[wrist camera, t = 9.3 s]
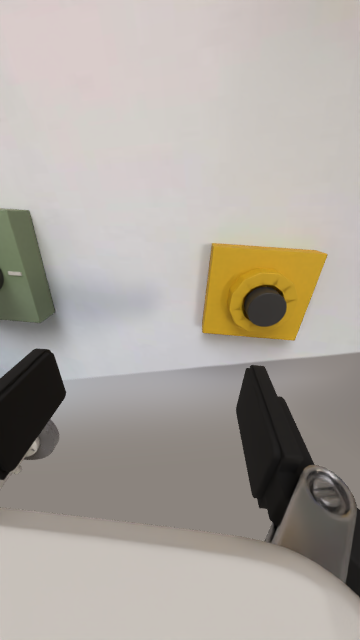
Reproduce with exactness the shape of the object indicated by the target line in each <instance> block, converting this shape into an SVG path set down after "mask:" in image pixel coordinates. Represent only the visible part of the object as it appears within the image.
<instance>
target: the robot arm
mask: <svg viewBox="0 0 360 640" xmlns="http://www.w3.org/2000/svg"><path fill="white" fill-rule="evenodd" d="M65 395H66V391H65V388H64V385H63V381H62V378H61V375H60V372H59V369H58V366H57V363H56V360H55V357H54V354H53V353H51V351H50V350H48V349H34V350H33V351H32V352H30V353H29V354H28V355H27V356H26V357H25V358H23V359H22V360H21V361H20V362H19V363H18V364H17V365H15V366H14V367H13V368H12V369H11V370H10V371H8V372H7V373H6V374H5V375H4V376H3V377H2V378H0V489H1V488H2V487H3V485H4V483H5V482H6V481H7V479H8V478H9V476H11V475H12V473H14V474H19V473H20V472H21V470H22V468H21V466H20V463H21V462H22V461H23V459H24V458H25V457H27V456H31V455H33V454H34V453H35V452H36V451H37V450H38V448H39V447H40V439H39V437H38V435H39V434H40V433H41V431H42V430H43V428H44V427H45V425H46V424H47V423H48V421H49V420H50V418H51V417H52V415H53V414H54V412H55V411H56V410H57V408H58V407H59V405H60V404H61V403H62V401H63V400H64V398H65ZM236 413H237V419H238V424H239V429H240V434H241V440H242V445H243V450H244V455H245V461H246V465H247V470H248V476H249V481H250V486H251V491H252V495H253V497H254V498H257V499H258V505H259V508H265V509H267V510H268V514H269V518H270V520H271V521H272V525H271V527H270V529H269V532H268V534H267V536H266V539H265V541H260V540H255V539H250V538H246V537H241V536H234V535H226V534H220V533H212V532H205V531H198V530H191V529H183V528H175V527H166V526H158V525H150V524H141V523H133V522H125V521H116V520H108V519H99V518H90V517H82V516H73V515H65V514H55V513H47V512H38V511H29V510H19V509H11V508H1V507H0V640H360V510H359V509H358V508H357V505H356V502H355V499H354V496H353V494H352V493H351V491H350V489H349V488H348V486H347V485H346V484H345V483H344V482H343V481H342V479H341V478H340V477H338V476H337V475H336V474H335V473H333V472H332V471H330V470H328V469H327V468H325V467H322V466H318V465H314V463H313V461H312V459H311V456H310V454H309V452H308V450H307V448H306V445H305V443H304V441H303V439H302V437H301V434H300V432H299V430H298V428H297V426H296V423H295V421H294V419H293V417H292V415H291V413H290V411H289V408H288V406H287V404H286V402H285V400H284V399H283V398H282V397H278V396H277V394H276V392H275V390H274V387H273V385H272V383H271V380H270V378H269V376H268V373H267V371H266V369H265V367H264V366H256V365H251V366H250V368H247V369H246V371H245V375H244V379H243V383H242V387H241V391H240V395H239V399H238V403H237V407H236Z"/></svg>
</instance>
